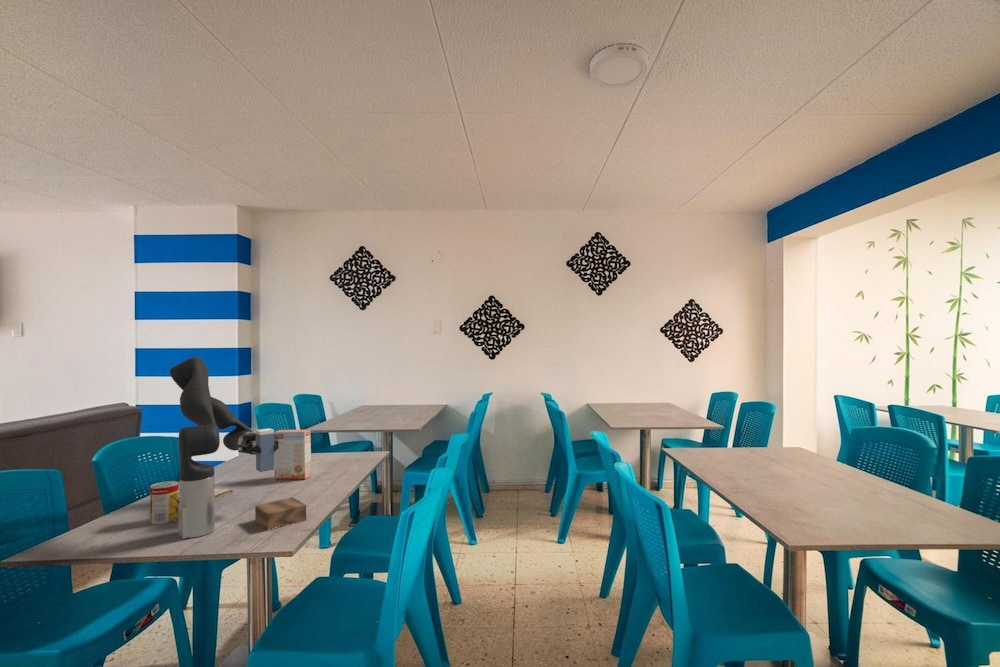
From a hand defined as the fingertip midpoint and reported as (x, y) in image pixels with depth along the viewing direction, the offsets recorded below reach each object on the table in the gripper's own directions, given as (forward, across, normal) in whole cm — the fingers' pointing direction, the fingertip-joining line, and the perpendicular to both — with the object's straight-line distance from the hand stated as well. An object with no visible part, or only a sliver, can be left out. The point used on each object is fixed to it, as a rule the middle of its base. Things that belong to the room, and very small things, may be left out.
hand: (267, 449), depth 168 cm
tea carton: (-3, 0, +8) cm, 8 cm away
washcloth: (-33, -13, +23) cm, 42 cm away
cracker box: (-38, +23, +22) cm, 49 cm away
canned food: (-19, -27, +22) cm, 40 cm away
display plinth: (+11, 0, +22) cm, 25 cm away
